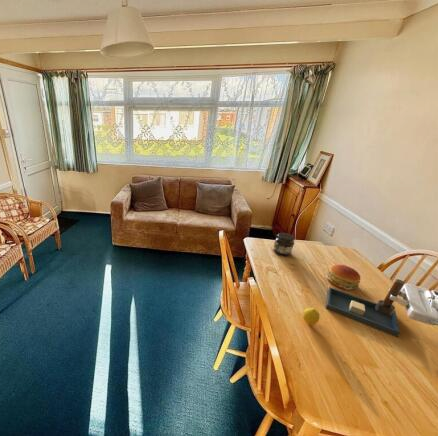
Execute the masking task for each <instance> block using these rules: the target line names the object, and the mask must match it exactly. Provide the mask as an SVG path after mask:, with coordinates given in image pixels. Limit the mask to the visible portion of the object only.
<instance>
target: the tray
mask: <svg viewBox="0 0 438 436" xmlns="http://www.w3.org/2000/svg"><path fill="white" fill-rule="evenodd" d="M326 294H327V295H326V301H325V310H328V311H330V312H333V313H337V314H338V315H340V316H344V317H345V318H348V319H351V320H353V321H356V322H358V323H361V324H364V325H365V326H368V327H371V328H373V329H376V330H378V331H381V332H383V333H384V334H385V333H386V334H388V335H391V336H393V337H396V338H399V336H400V334H401V330H400V326H399V321H398V317H397V312H396V309H395V310H394V311H393V313H392V314H391V315H390V316H387V315H383V314H381V313H379V312H378V311H377V310H376V309H375V306H376V304H377V302H373V301H370V300H368V299H365V298H361V297H359V296H356V295H353V294H351V293H347V292H344V291H341V290H339V289H336V288H333V287H330V286H329V287H328V289H327V293H326ZM352 300H353V301H356V302H358V303H361V304H364V305H365V312H364V314H363V316H362V315H359V314H356V313H354V312H351V311H349V305H350V303H351V301H352Z"/></svg>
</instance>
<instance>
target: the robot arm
mask: <svg viewBox="0 0 438 436" xmlns="http://www.w3.org/2000/svg"><path fill="white" fill-rule="evenodd" d="M390 289H391V288H389V289H388V292H389V291H390ZM388 292H387V293H388ZM398 296H399V297H398ZM398 296H396V295H393V294H391V295H390V296H389V297H390V300H393V301H394V302H395V303H397V304H399V305H401V306H403V307H404V308H405V311H406V314H407V317H408V318H409V319H411V320H413V321H416V322H419V323H423V324H425V325H430V326H437V327H438V291H437V290H434V289H432V290H429V289H428V288H426V287H422V286H418V285H415V284H411V283H405V284H404V286H403V287H402V289H401V291H400V292H399V294H398Z"/></svg>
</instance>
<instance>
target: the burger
mask: <svg viewBox="0 0 438 436" xmlns="http://www.w3.org/2000/svg"><path fill="white" fill-rule="evenodd" d="M325 279H326V280H327V281H328V282H329V283H330V284H331V285H332V286H334V287H336V288H339V289H341V290H345V291H351V290H354V289H356V288H358V287H359V284H360V283H361V275H360V273H359V272H358V271H357V270H356V269H354V268H353V267H351V266H348V265H345V264H334V265H331V266H329V268H328V272H327V273H326V274H325Z"/></svg>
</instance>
